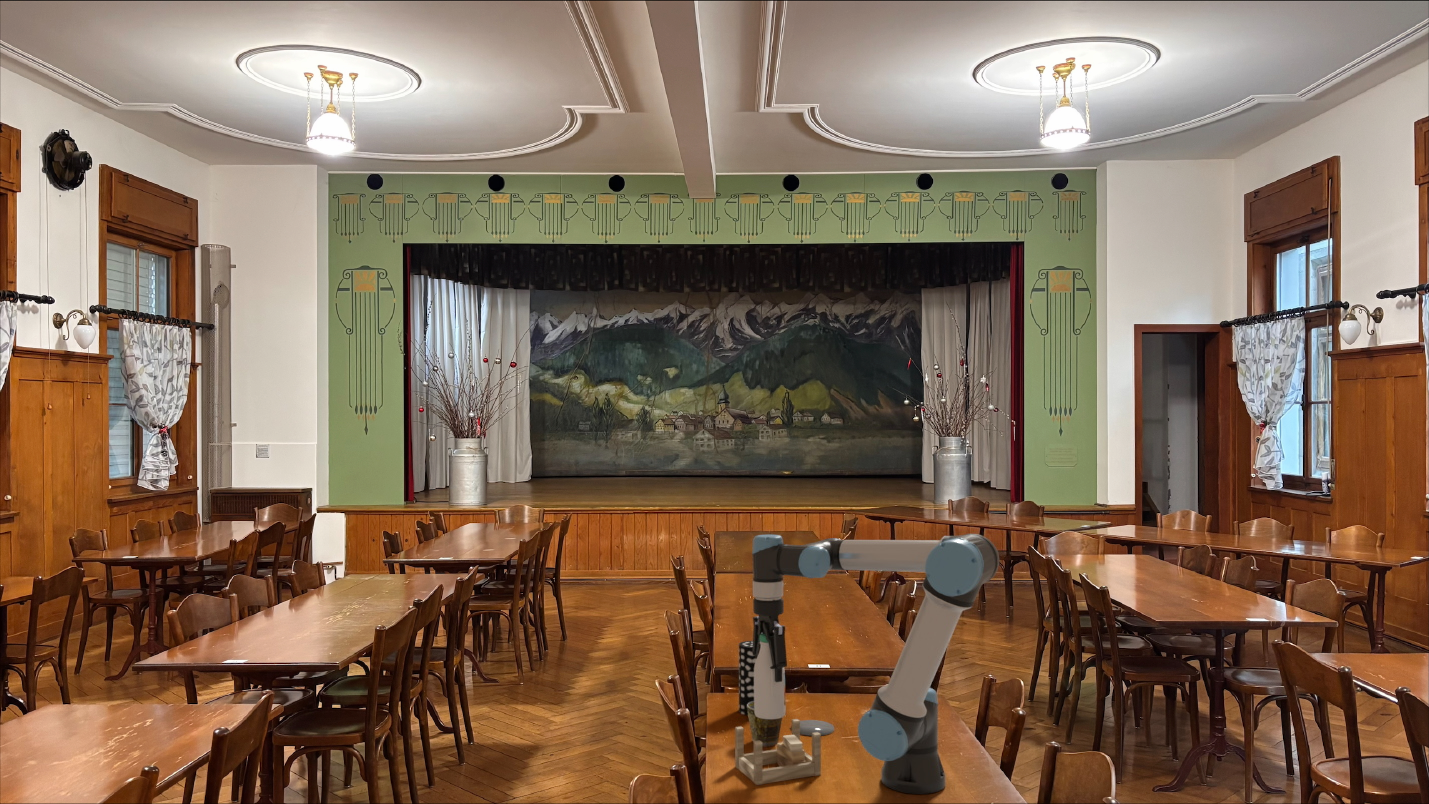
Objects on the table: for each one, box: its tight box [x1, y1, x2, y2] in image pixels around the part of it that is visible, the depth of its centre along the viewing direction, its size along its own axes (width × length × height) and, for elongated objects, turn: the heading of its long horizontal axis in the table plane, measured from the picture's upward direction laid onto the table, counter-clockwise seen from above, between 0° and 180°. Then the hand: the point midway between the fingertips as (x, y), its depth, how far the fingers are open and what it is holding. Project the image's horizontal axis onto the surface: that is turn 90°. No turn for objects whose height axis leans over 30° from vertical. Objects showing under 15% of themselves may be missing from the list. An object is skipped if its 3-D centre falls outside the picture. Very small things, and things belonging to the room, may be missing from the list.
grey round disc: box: [790, 719, 835, 737], centre depth 270 cm, size 12×12×1 cm
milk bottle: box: [754, 633, 787, 719], centre depth 238 cm, size 8×8×20 cm
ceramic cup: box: [747, 701, 784, 748], centre depth 258 cm, size 13×10×10 cm
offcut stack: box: [776, 734, 806, 767], centre depth 240 cm, size 8×4×7 cm, turn 22°
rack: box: [734, 718, 822, 786], centre depth 238 cm, size 13×17×10 cm
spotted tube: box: [738, 640, 756, 716], centre depth 286 cm, size 8×8×20 cm
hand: (769, 689), depth 237 cm, fingers closed on milk bottle, 8 cm apart
